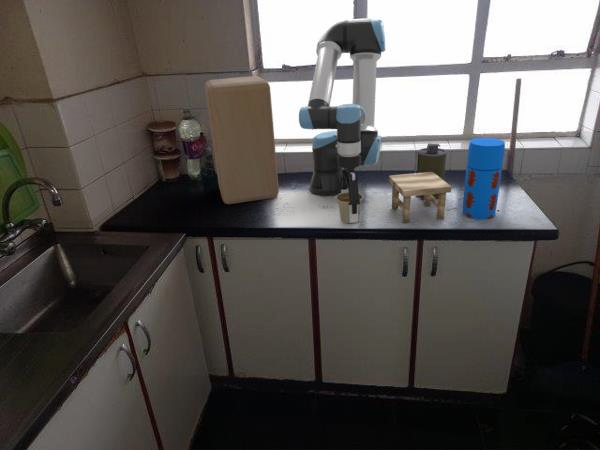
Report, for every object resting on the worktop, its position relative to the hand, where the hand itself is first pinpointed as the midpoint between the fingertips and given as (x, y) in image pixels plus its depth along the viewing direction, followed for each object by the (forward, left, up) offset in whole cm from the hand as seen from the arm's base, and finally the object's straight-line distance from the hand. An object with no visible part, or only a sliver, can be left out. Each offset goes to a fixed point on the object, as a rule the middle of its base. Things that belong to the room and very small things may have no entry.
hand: (349, 214), depth 151 cm
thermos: (+5, +44, -3) cm, 44 cm away
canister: (-15, +34, -3) cm, 37 cm away
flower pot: (0, 0, -3) cm, 3 cm away
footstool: (0, +24, -2) cm, 24 cm away
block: (-36, -35, -3) cm, 50 cm away
